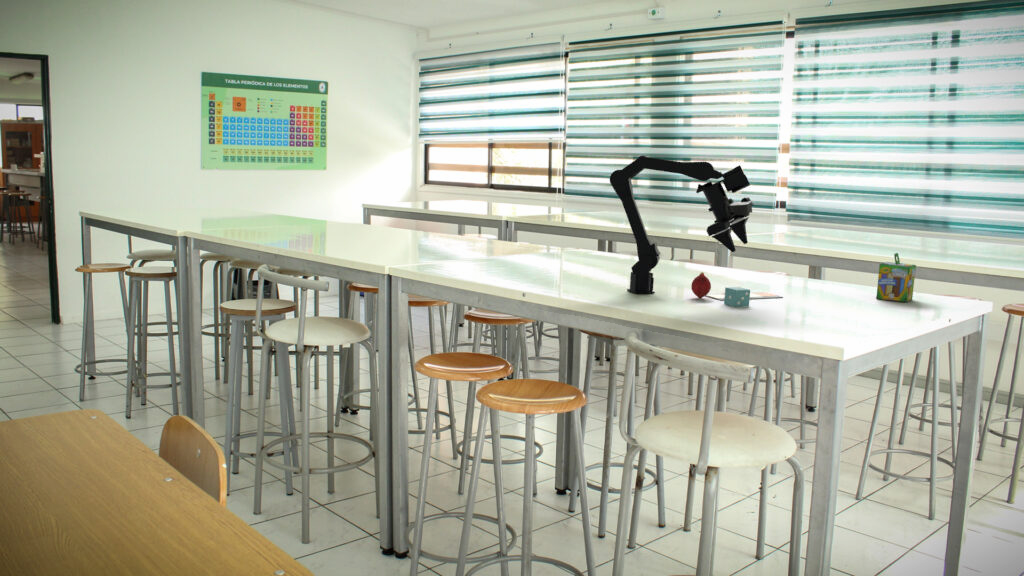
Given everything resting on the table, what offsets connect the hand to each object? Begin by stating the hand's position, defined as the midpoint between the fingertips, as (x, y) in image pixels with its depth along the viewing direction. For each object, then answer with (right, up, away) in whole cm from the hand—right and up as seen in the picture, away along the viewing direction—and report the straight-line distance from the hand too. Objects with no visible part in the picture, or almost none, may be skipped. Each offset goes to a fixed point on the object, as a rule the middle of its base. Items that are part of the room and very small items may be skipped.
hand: (740, 247), depth 237 cm
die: (-3, -17, -6) cm, 18 cm away
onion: (-11, -15, +3) cm, 19 cm away
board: (+3, -15, +9) cm, 18 cm away
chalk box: (+54, -16, +16) cm, 59 cm away
